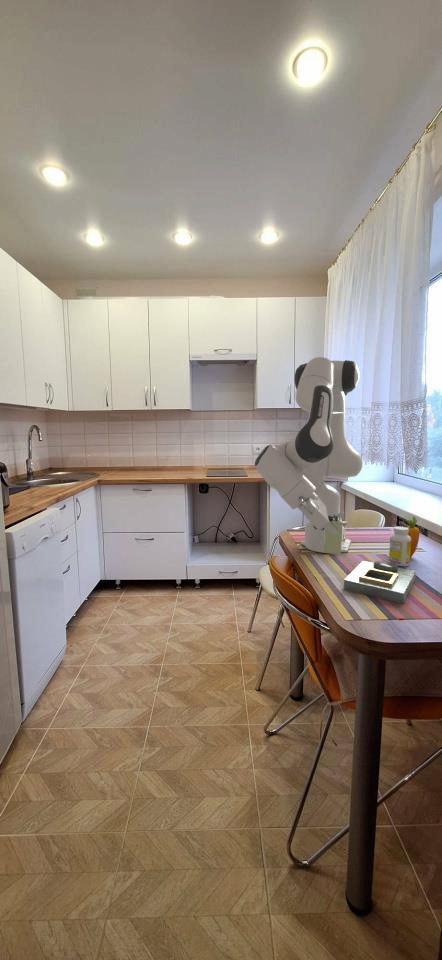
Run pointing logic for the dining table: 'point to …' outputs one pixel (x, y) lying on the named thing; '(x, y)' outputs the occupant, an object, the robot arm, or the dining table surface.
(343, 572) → the dining table surface
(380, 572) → the grey base plate
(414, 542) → the carrot
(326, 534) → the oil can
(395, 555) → the supplement bottle
